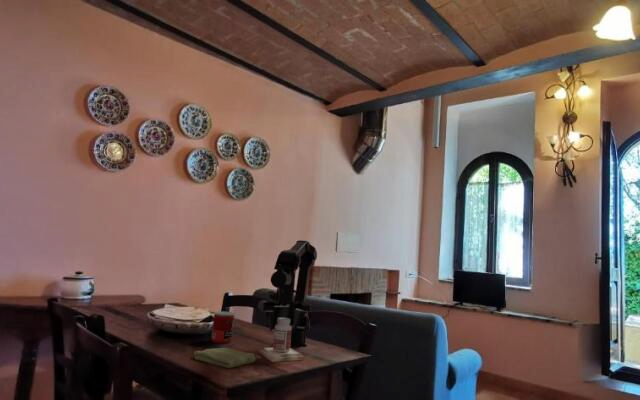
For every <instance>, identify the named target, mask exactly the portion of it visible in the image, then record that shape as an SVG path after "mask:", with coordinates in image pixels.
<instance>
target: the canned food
mask: <svg viewBox="0 0 640 400" xmlns="http://www.w3.org/2000/svg"><path fill="white" fill-rule="evenodd" d="M234 323H235V312H231V311H222V310H221V311H220V310H219V311H215V312H214V315H213V325H212V332H211V341H212V343H215V344H223V345H224V344H230V343H231V342H232V340H233V333H234V325H235V324H234Z"/></svg>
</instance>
